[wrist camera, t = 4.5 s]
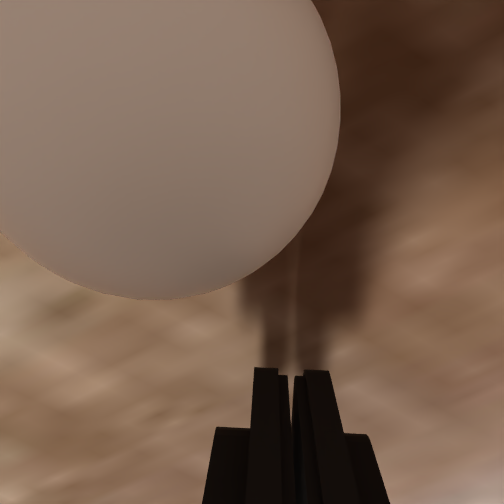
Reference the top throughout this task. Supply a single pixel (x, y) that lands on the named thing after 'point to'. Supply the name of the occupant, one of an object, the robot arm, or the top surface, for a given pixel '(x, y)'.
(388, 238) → the top surface
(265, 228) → the cue ball
